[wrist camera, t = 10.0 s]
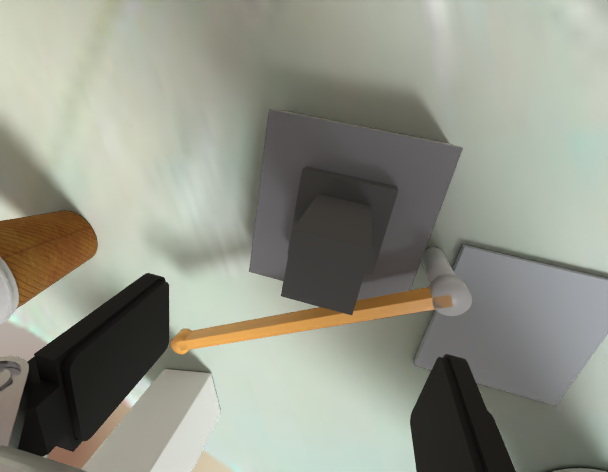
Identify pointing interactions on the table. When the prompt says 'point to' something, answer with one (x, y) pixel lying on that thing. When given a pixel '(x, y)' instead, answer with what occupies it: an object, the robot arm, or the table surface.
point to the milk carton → (162, 427)
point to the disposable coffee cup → (40, 254)
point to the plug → (335, 237)
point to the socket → (362, 164)
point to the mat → (521, 324)
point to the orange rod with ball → (335, 315)
